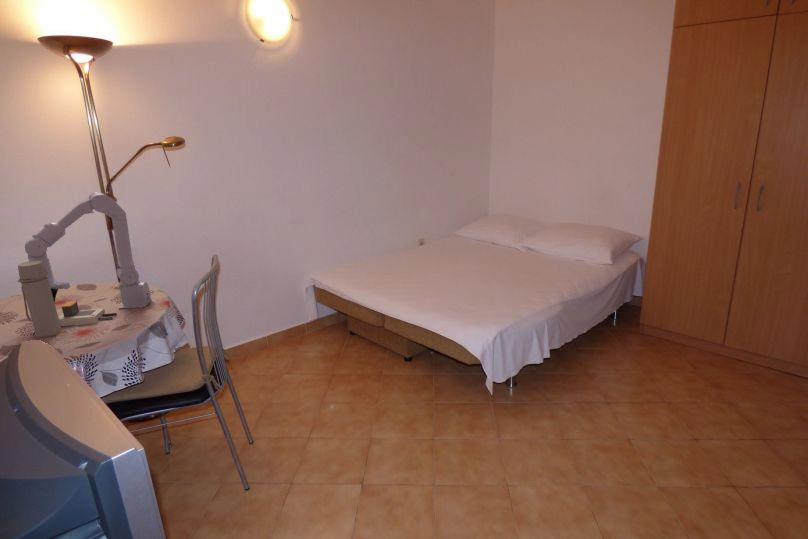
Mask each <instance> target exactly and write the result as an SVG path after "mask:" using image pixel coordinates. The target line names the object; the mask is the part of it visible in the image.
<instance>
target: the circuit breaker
mask: <svg viewBox="0 0 808 539" xmlns="http://www.w3.org/2000/svg"><path fill="white" fill-rule="evenodd" d="M102 314H106V310H105V308H93V309H82V310H80V309H79V312H77V313H76V314H75V315H74V316H65V317H64V314H63V313H61V315H58V319H59V322H60V326H61V327H66V326H79V325H89V324H90V325H91V324H97V323H98V322H99V321H100V320H99V319H98V318H99V317H103V316H102Z"/></svg>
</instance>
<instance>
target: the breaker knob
mask: <svg viewBox="0 0 808 539" xmlns="http://www.w3.org/2000/svg"><path fill="white" fill-rule="evenodd" d="M79 310H80V308H79V305H78V301H77V300H75V301H67V302H65V303H64V304H63V305H62V306H61V311H62V314H64V317H65V316H74V315H75V314H76V313H77V312H79Z"/></svg>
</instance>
